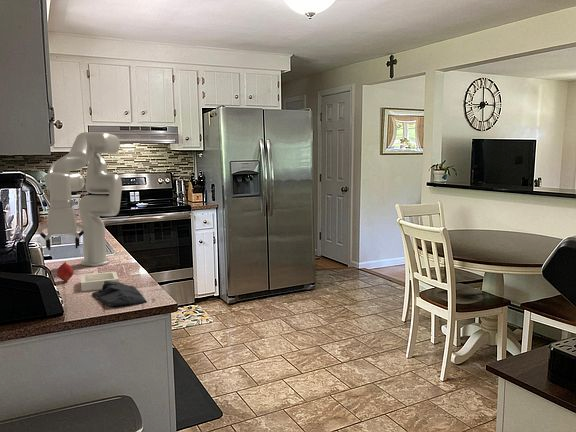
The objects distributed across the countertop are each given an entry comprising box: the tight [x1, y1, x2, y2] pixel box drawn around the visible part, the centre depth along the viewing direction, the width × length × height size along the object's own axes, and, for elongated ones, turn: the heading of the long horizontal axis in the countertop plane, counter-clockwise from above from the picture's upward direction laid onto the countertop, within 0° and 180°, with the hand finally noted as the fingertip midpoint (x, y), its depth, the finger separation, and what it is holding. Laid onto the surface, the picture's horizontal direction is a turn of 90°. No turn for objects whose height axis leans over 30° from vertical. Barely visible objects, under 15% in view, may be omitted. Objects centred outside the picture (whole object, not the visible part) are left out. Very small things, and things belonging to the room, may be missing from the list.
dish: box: [80, 270, 120, 292], centre depth 179 cm, size 13×13×3 cm
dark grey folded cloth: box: [92, 281, 148, 307], centre depth 162 cm, size 15×22×5 cm
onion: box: [56, 261, 74, 282], centre depth 183 cm, size 6×6×8 cm
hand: (63, 248), depth 181 cm, fingers open, 9 cm apart
